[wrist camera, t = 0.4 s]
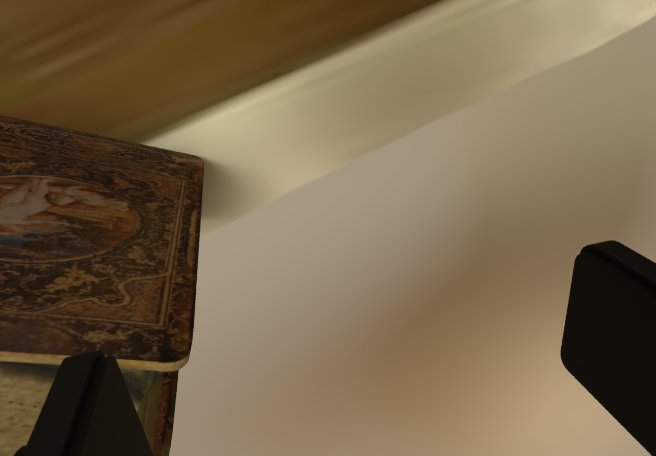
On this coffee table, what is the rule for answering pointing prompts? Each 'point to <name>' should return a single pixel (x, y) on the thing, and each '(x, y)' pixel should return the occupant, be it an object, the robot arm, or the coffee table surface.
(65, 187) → the book
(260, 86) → the coffee table surface
